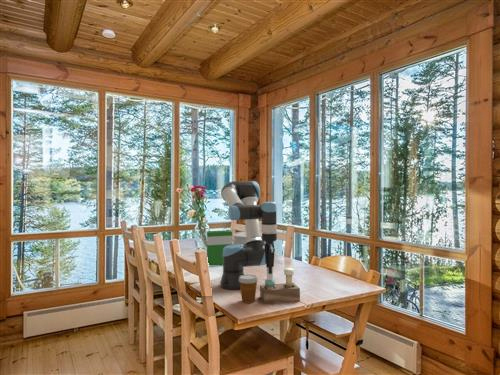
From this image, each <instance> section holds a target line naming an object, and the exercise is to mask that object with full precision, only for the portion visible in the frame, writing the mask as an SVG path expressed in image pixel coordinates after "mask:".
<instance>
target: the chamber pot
mask: <svg viewBox="0 0 500 375" xmlns="http://www.w3.org/2000/svg"><path fill="white" fill-rule="evenodd" d="M262 233H263V232H261V239H262ZM232 237H234V238H233V239H232V244H243V246H245V243H246V242H247V235H246V229H245V230H244V231H243V230H242V231H237V232H232ZM264 242H265V244H266V241H264Z"/></svg>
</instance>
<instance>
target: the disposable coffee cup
mask: <svg viewBox="0 0 500 375" xmlns="http://www.w3.org/2000/svg"><path fill="white" fill-rule="evenodd" d="M258 280H259V279H258V277H257V275H255V274H244V275H242V276H240V277H239V282H240V294H241V295H240V296H241V301H242V303H245V304H252V303H254V302H256V301H255V300H256V292H257V282H258Z"/></svg>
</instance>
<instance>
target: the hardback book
mask: <svg viewBox="0 0 500 375" xmlns="http://www.w3.org/2000/svg"><path fill="white" fill-rule="evenodd" d="M232 234H233V231H231V230H228V229H227V230H225V229H224V230H223V229H222V230H207V231H206V258H207V257H208V263H209V265H219V266H223V248H224V247H225V246H227V245H231V244H233V236H232Z"/></svg>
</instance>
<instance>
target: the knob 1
mask: <svg viewBox="0 0 500 375" xmlns="http://www.w3.org/2000/svg"><path fill="white" fill-rule="evenodd" d="M275 282H276V281H275V279H274V278H273V280H267V278H266V279H265V280H264V285H265V286H267V289H273V286H275V284H276V283H275Z"/></svg>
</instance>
